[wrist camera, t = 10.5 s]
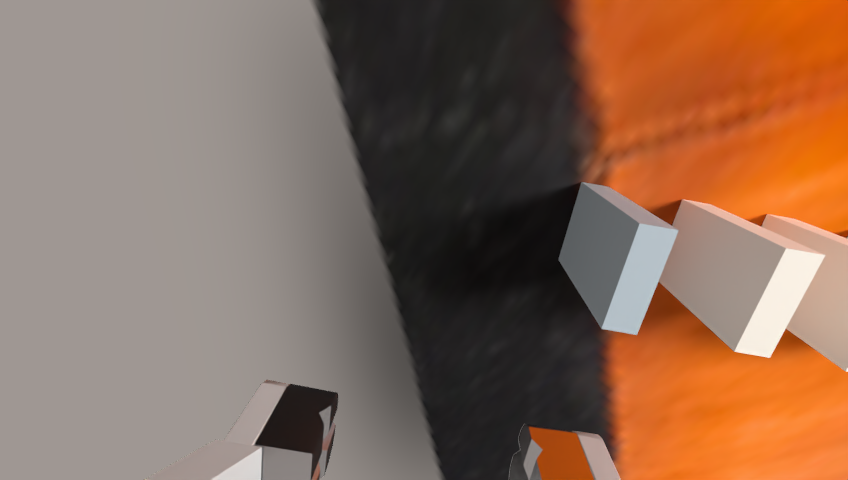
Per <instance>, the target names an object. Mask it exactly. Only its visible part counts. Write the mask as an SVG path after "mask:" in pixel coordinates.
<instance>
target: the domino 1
mask: <svg viewBox="0 0 848 480" xmlns="http://www.w3.org/2000/svg"><path fill="white" fill-rule="evenodd" d="M678 231H679V230H678V229H676V228H674V227H673V226H671V225H670V224H668V223H666V222H665V221H663V220H662V219H660V218H658V217H657V216H655V215H653V214H652V213H650V212H649V211H647V210H645V209H644V208H642V207H640V206H639V205H637V204H636V203H634V202H632V201H631V200H629V199H628V198H626V197H624V196H623V195H621V194H619V193H618V192H616V191H615V190H613V189H611V188H610V187H607V186H601V185H596V184H590V183H584V182H581V186H580V189H579V192H578V196H577V199H576V202H575V206H574V209H573V212H572V216H571V219H570V222H569V226H568V229H567V232H566V236H565V239H564V242H563V246H562V249H561V252H560V256H559V259H558V260H559V262H560V263H561V265H562V266H563V268H564V270H565V271H566V273H567V274H568V276H569V278H570V279H571V281H572V282H573V284H574V286H575V287H576V289H577V290H578V292H579V294H580V295H581V297H582V298H583V300H584V302H585V303H586V305H587V306H588V308H589V310H590V311H591V313H592V314H593V316H594V318H595V319H596V321H597V322H598V324H599V326H600V327H601V329H606V330H611V331H617V332H623V333H628V334H634V335H637V334H638V331H639V329H640V326H641V324H642V321H643V319H644V316H645V314H646V311H647V309H648V306H649V304H650V301H651V299H652V296H653V294H654V291H655V289H656V286H657V284H658V281H659V279H660V276H661V274H662V271H663V269H664V266H665V264H666V261H667V259H668V256H669V254H670V251H671V249H672V246H673V244H674V241H675V239H676V236H677V234H678Z"/></svg>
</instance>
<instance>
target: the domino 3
mask: <svg viewBox="0 0 848 480" xmlns="http://www.w3.org/2000/svg"><path fill="white" fill-rule="evenodd" d="M761 227H763V228H765V229H767V230H770V231H772V232H774V233H776V234H779V235H781V236H783V237H785V238H788V239H790V240H792V241H795V242H797V243H799V244H801V245H804V246H806V247H808V248H810V249H813V250H815V251H817V252H819V253H822V254H824V255H825V257H824V259H823V261H822V263H821V264H820V266H819V268H818V270H817V272H816V274H815V276H814V277H813V279H812V281H811V283H810V285H809V287H808V288H807V290H806V292H805V294H804V296H803V298H802V299H801V301H800V303H799V305H798V307H797V309H796V311H795V312H794V314H793V316H792V318H791V320H790V322H789V323H788V325H787V327H786V329H787V330H788V331H790V332H791V333H793V334H794V335H795V336H797V337H798V338H800V339H801V340H802V341H804V342H805V343H807V344H808V345H809V346H811V347H812V348H814V349H815V350H816V351H818V352H819V353H821V354H822V355H823V356H825V357H826V358H828V359H829V360H830V361H832V362H833V363H835V364H836V365H837V366H839V367H840V368H842V369H843V370H844V371H847V372H848V239H847V238H844V237H842V236H839V235H836V234H834V233H831V232H828V231H826V230H823V229H820V228H818V227H815V226H812V225H810V224H807V223H804V222H802V221H799V220H796V219H793V218H787V217H782V216H776V215H770V214H767V215H766V217H765V219H764V221H763V224H762V226H761Z"/></svg>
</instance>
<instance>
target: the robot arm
mask: <svg viewBox="0 0 848 480" xmlns="http://www.w3.org/2000/svg"><path fill="white" fill-rule="evenodd" d="M337 405H338V393H336V392H331V391H326V390H320V389H315V388H310V387H305V386H300V385H295V384H286V383H281V382H276V381H271V380H266V381H264V382H263V383H262V384H260V386H259V387H258V389H257V390H256V392H255V393H254V395H253V396H252V398H251V399H250V401H249V402H248V404H247V406H246V407H245V409H244V410H243V412H242V413H241V415H240V416H239V418H238V419H237V421H236V422H235V424H234V425H233V427H232V428H231V430H230V431H229V433H228V435H227V436H226V438H225V439H224V440H216V439H215V440H214V441H212V442H210V443H208V444H206V445H205V446H203V447H201V448H199V449H198V450H196V451H194V452H192V453H190V454H189V455H187V456H185V457H183V458H182V459H180V460H178V461H176V462H175V463H173V464H171V465H169V466H167V467H166V468H164V469H162V470H160V471H158V472H157V473H155V474H153V475H151V476H150V477H148V478H146V479H144V480H319V479H320V478H322V477H323V476H324V475H325V472H326V469H327V466H328V463H329V459H330V454H331V450H332V446H333V441H334V434H335V424H334V422H333V419H334V416H335V413H336V410H337ZM518 440H519V445H520V451H518V452H517V453H515V454H514V455H513V458H512V462H511V466H510V472H509V480H621V479H620V477H619V474H618V472H617V470H616V468H615V466H614V464H613V461H612V459H611V457H610V455H609V453H608V450H607V448H606V446H605V444H604V442H603V439H602V438H601V437H600V436H599V435H598V434H591V433H584V432H577V431H573V432H572V431H568V430H562V429H555V428H549V427H543V426H536V425H530V424H524V425H523V427H522V428H521V431H520V434H519V437H518Z"/></svg>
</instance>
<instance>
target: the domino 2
mask: <svg viewBox="0 0 848 480" xmlns="http://www.w3.org/2000/svg"><path fill="white" fill-rule="evenodd" d="M672 226H673V227H674V228H676V229H678V230H679V231H678V234H677V236H676V239H675V241H674V244H673V246H672V249H671V251H670V254H669V256H668V259H667V261H666V264H665V266H664V269H663V271H662V274H661V276H660V279H659V281H658V282H660V283H661V284H662V285H663V286H664V287H665V288H666V289H667V290H668V291H669V292H670V293H671V294H672V295H674V296H675V297H676V298H677V299H678V300H679V301H680V302H681V303H682V304H683V305H684V306H685V307H687V308H688V309H689V310H690V311H691V312H692V313H693V314H694V315H695V316H696V317H697V318H698V319H700V320H701V321H702V322H703V323H704V324H705V325H706V326H707V327H708V328H709V329H710V330H711V331H712V332H714V333H715V334H716V335H717V336H718V337H719V338H720V339H721V340H722V341H723V342H724V343H725V344H727V345H728V346H729V347H730V348H731V349H732V350H733V351H734V352H739V353H745V354H751V355H756V356H762V357H768V358H770V357H771V355H772V353H773V351H774V349H775V347H776V346H777V344H778V342H779V340H780V338H781V336H782V334H783V333H784V331H785V329H786V327H787V325H788V323H789V322H790V320H791V318H792V316H793V314H794V312H795V311H796V309H797V307H798V305H799V303H800V301H801V299H802V298H803V296H804V294H805V292H806V290H807V288H808V287H809V285H810V283H811V281H812V279H813V277H814V276H815V274H816V272H817V270H818V268H819V266H820V264H821V263H822V261H823V259H824V257H825V255H824V254H822V253H819V252H817V251H815V250H813V249H810V248H808V247H806V246H804V245H801V244H799V243H797V242H795V241H792V240H790V239H788V238H785V237H783V236H781V235H779V234H776V233H774V232H772V231H770V230H767V229H765V228H763V227H761V226H758V225H756V224H754V223H751V222H749V221H747V220H745V219H742V218H740V217H738V216H736V215H733V214H731V213H729V212H727V211H724V210H722V209H720V208H717V207H715V206H713V205H711V204H707V203H701V202H695V201H690V200H684V199H682V201H681V204H680V207H679V209H678V212H677V214H676V217H675V219H674V222H673V224H672Z"/></svg>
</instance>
